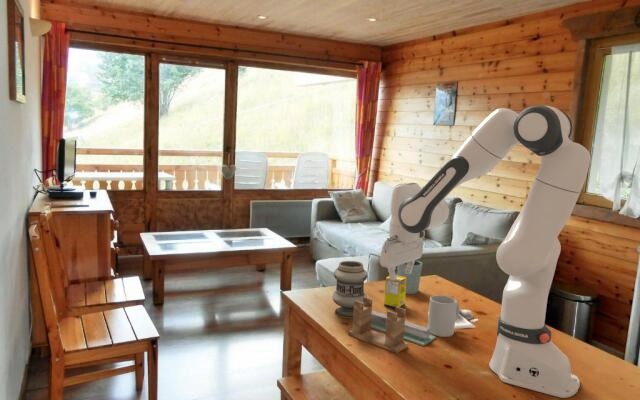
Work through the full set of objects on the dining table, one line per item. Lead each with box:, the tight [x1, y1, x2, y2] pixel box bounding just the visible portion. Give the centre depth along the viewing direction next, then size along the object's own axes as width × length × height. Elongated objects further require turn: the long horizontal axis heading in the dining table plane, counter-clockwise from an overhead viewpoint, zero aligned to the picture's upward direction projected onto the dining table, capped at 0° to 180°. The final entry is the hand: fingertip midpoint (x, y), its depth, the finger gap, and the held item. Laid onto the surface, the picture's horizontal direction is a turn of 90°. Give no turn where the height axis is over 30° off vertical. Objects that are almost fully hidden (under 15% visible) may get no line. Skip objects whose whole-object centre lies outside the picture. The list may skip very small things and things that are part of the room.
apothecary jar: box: [331, 260, 368, 319], centre depth 170 cm, size 12×12×18 cm
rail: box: [371, 309, 431, 341], centre depth 158 cm, size 22×3×3 cm, turn 50°
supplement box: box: [383, 275, 407, 309], centre depth 181 cm, size 6×6×11 cm
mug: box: [426, 294, 461, 338], centre depth 160 cm, size 12×8×11 cm
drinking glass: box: [396, 259, 423, 295], centre depth 200 cm, size 10×10×12 cm
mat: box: [371, 323, 436, 347], centre depth 158 cm, size 24×8×1 cm, turn 50°
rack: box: [347, 297, 409, 354], centre depth 149 cm, size 18×6×11 cm, turn 50°
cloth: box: [427, 307, 479, 330], centre depth 173 cm, size 22×19×6 cm
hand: (400, 276), depth 156 cm, fingers open, 8 cm apart
